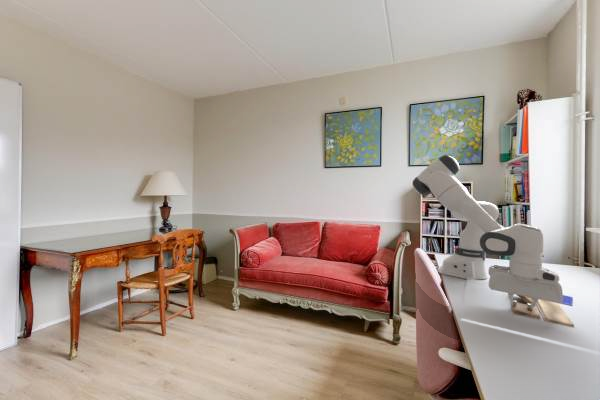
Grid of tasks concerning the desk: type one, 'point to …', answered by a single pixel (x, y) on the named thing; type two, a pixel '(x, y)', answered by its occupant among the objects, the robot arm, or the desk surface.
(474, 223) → the robot arm
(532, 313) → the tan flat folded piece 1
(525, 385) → the desk surface
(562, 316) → the laid board
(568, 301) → the hard drive
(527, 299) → the plank
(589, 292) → the desk surface
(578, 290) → the desk surface
